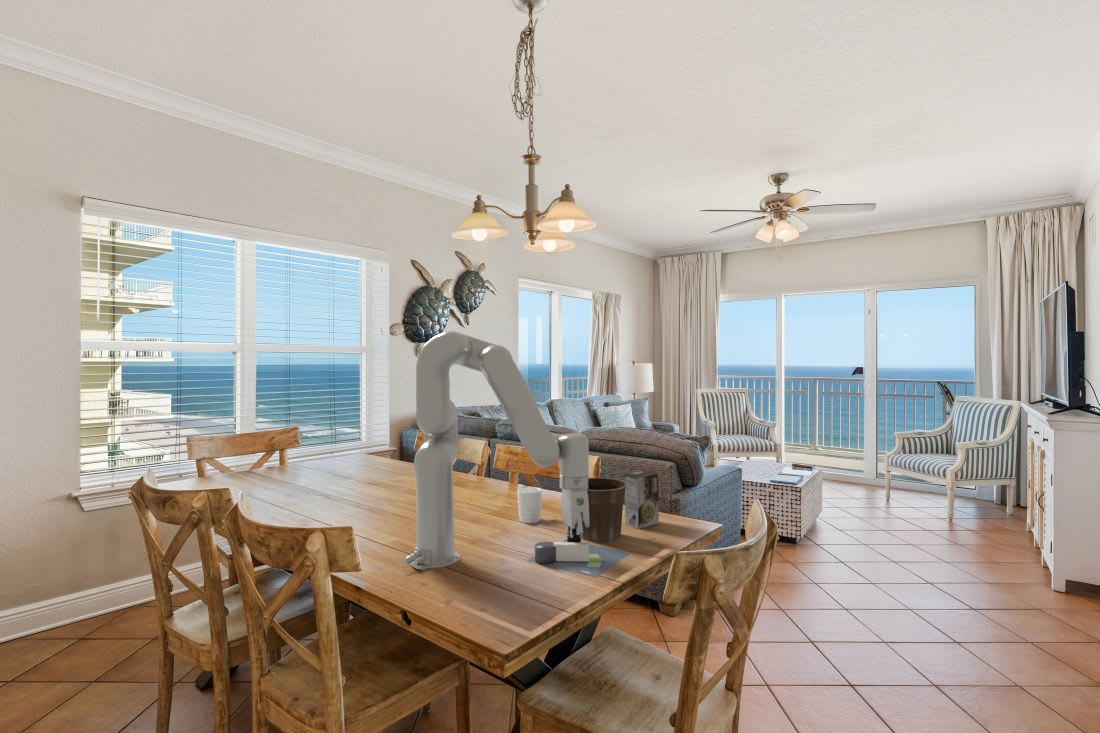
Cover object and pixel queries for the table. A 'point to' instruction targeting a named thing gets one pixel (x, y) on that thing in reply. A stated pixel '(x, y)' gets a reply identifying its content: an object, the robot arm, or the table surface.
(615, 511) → the plant pot
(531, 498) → the white cup
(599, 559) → the peg dial
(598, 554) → the board
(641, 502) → the coffee box
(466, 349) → the robot arm
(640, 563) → the table surface
